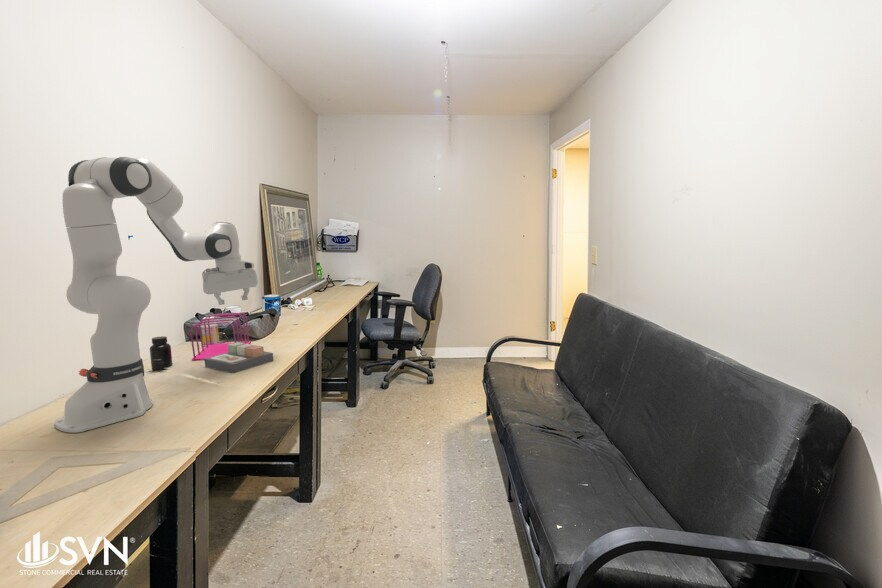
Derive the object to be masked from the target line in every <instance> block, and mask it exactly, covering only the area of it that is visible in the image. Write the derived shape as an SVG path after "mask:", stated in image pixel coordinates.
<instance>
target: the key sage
mask: <svg viewBox="0 0 882 588" xmlns="http://www.w3.org/2000/svg"><path fill="white" fill-rule="evenodd" d="M236 342H237V343H234V342H232V343H233V344H229V345H228V352H229V353H230V354H237V346H240V345H244V344H245V343H239V342H238V341H236Z"/></svg>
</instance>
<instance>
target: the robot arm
mask: <svg viewBox="0 0 882 588" xmlns="http://www.w3.org/2000/svg"><path fill="white" fill-rule="evenodd" d="M67 181H68V186H67V187H66V188H65V189H64V190H63V192H62V213H63V218H64V225H65V228H66V232H67V236H68V239H69V240H68V241H69V244H70V249H71V254H72V262H73V263H72V279H71V283H70V284H69V285H68V287H67V289H66V295H65V296H66V300H67V302H68V303H69V305H71V307H73V308H75V309H76V310H78V311H81V312H84V313H86V314H90V315H97V325H96V330H95V332H94V333H93V334H92V335H91V337H90V341H89V343H90V350H91V356H92V357H91V358H92V363H93V365H92V366H91V368H90V369H86V368H81V369H80V370H79V371H78V375H79V376H81V377H86V380H87V381H86V382H84V384H83V385H82V386H81V387H80V388H78V389H77V390H76V391H75V392H74V393H73V394H72V395H71V396H70V397H68V398H67V400H66V401H65V405H64V413H63V414H64V416H62V417H59V418H58V419H56V420H55V421H54V427H55V428H56V429H57V430H59V431H61V432H64V433H73V434H74V433H82V432H86V431H90V430H94V429H97V428H101V427H104V426H109V425H111V424H115V423H120V422H122V421H123V422H124V421H126V420H130V419H134V418H137V417H141V416H143V415H144V414H145V412H146V411H147V410H149V409H150V408H151V407H153V401H152V399H151V396H150V394H149V392H148V388H147V385H146V382H145V367H144V363H143V361H144V360H143V359H142V358H141V352H140V342H139V328H140V327H139V326H140V321H141V317H142V315H143V312H144V311H145V310H146V309H147V308H148V306H149V305H150V302H151V297H152V295H151V294H152V293H151V290H150V288H149V286H148V285H147V284H146V283H145V282H144V281H142V280H140V279H138V278H134V277H131V276H127V275H117V265H118V260H119V258H120V256H121V255H122V253H123V246H122V243H121V242H122V241H121V238H120V237H121V236H120V234H119V229H118V224H117V221H116V220H117V219H116V216H115V213H114V210H113V202H114V199H121V198H123V199H124V198H128V197H135V198H137V200H138V201H139V202H140V203H141V204H142V205H143V206H144V208H145V209H146V214H147V216H148V217H149V219H150V221H151V222H152V224H153V225H154V226H155V227H156V229H157V230H158V231H159V232H160V234H161V235H162V236H163V237H164V238H165V239H166V241H167V242H168V244H169V245H170V247H171V249H172V251H173V253H174V255H176V257H177V258H178V259H180V261H182V262H192V261H193V262H195V261H209V260H213V261H215V267H212V268H206V269H205V270H203V271H202V274H201V276H202V289H203V293H204V294H206V295H213V297H214V298H215V299H216V300H217V302H218V306H222V305H225V304H226V303H225V299H222V298H221V295H222V293H226V292H232V291H238V290H242V291H243V295H241V300H242V301H247V300H249V298H248V295H249V292H250V288H255V287H256V288H257V286H258V281H259V280H258V276H257V271H256V270H255V269H254V268H255V263H254V262H250V261H247V260H242V258H241V254H240V251H239V250H240V241H239V240H240V239H239V235H238V231H237V227H236V226H235V224H232V222H231V223H230V222H224V221H221V222H220V221H217V222H213V223H212V226H211V227H210V228H209V229H208V230H207V231H205V232H195V233H193V232H188V231H185V230H183V229H182V227H181V226H180V225H179V223H178V222H177V221H176V220H175V219H174V216H175V215H176V214H177V213H179V211H180V209H181V208H182V206H183V204H184V203H183V202H184V196H183V193H182V191H181V190H180V189H179V188H178V186H177V185H176V184H175V183H174V182H173V181H172V179H171V178H170V177H169V176H168V175H167V174H166V173H165V172H164V171H163V170H161V169H160V168H159V167H158V166H157V165H156V164H155V163H153V162H152V161H150V160H149V159H147V158H145V157H127V156H119V157H97V158H92V159H84V160H81V161H78V162H77V163H74V164H73V165H72V166H71V167H70V168H69V171H68V177H67Z"/></svg>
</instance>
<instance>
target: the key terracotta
mask: <svg viewBox="0 0 882 588" xmlns="http://www.w3.org/2000/svg"><path fill="white" fill-rule="evenodd" d="M264 351H265V350H264V346H263V345H256V344H254V346H251V347H248V348H246V357H251V358H256V357H259V356H263V355H264Z"/></svg>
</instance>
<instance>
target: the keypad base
mask: <svg viewBox="0 0 882 588" xmlns="http://www.w3.org/2000/svg"><path fill="white" fill-rule="evenodd" d="M203 362H204V367H206V368H207V369H209V368H210V369H214V370H217V371H222V372H227V373H231V374H235V373H238V372H241V371H244V370H248V369H250V368H255V367H257V366H261V365H265V364H267V363H270V362H274V352H270V351H265V350H264V355H263V356H259V357H256V358H251V357H246V356H240V355H237V354H230V353H229V352H228V353H224V354H220V355H217V356H213V357H209V358H205V359H204V360H203Z"/></svg>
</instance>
